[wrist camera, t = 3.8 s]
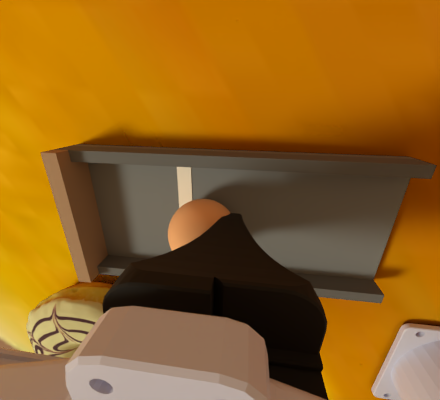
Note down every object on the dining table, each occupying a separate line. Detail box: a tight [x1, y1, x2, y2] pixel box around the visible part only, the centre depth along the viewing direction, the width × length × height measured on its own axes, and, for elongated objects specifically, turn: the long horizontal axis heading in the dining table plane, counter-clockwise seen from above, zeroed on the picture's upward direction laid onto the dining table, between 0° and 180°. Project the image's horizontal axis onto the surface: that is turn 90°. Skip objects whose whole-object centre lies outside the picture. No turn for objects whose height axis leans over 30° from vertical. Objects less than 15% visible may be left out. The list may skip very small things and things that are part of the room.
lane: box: [41, 144, 437, 303], centre depth 13 cm, size 18×8×3 cm, turn 89°
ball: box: [168, 199, 230, 251], centre depth 12 cm, size 4×4×4 cm
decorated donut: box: [27, 281, 113, 358], centre depth 18 cm, size 10×11×4 cm
